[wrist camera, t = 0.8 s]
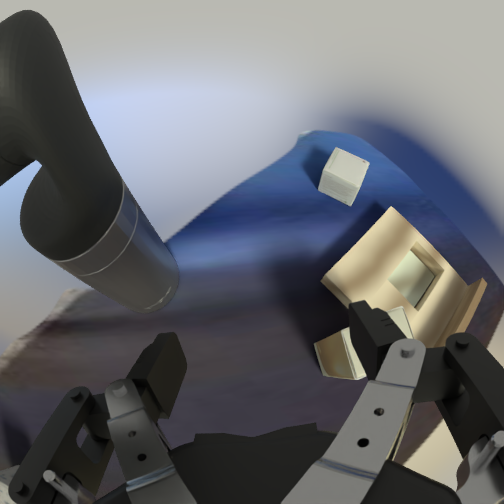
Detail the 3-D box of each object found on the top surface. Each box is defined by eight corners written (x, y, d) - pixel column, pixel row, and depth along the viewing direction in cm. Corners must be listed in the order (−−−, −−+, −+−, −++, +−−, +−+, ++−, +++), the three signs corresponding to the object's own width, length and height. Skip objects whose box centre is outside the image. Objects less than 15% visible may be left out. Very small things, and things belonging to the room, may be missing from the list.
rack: (320, 281, 34) (332, 263, 28) (384, 214, 38) (400, 191, 32) (412, 376, 28) (438, 374, 23) (462, 296, 32) (487, 283, 26)
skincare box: (358, 326, 31) (405, 302, 20) (368, 359, 30) (421, 349, 18) (310, 344, 31) (339, 328, 20) (320, 378, 29) (356, 381, 18)
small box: (329, 166, 42) (335, 145, 37) (361, 182, 40) (371, 162, 36) (316, 190, 40) (322, 169, 35) (350, 208, 38) (360, 188, 34)
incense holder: (70, 524, 17) (35, 543, 8) (36, 506, 17) (0, 518, 7) (56, 478, 21) (14, 492, 12) (23, 462, 21) (-18, 469, 11)
